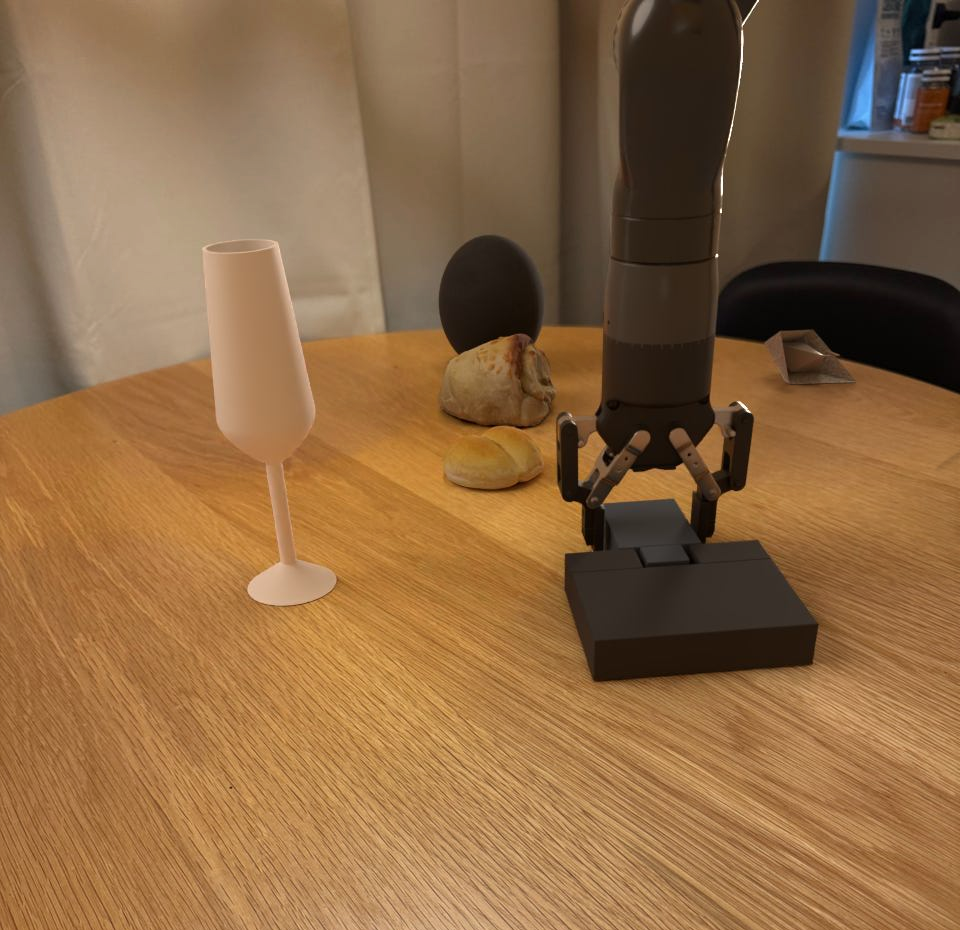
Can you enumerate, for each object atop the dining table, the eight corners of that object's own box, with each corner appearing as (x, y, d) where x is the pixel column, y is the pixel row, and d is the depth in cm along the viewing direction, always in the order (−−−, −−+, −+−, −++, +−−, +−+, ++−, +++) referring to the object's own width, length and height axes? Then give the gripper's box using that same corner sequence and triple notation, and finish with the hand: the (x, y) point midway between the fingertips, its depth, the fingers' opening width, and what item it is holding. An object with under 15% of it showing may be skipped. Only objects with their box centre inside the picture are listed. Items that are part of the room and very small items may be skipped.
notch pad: (753, 576, 74) (758, 539, 72) (812, 664, 63) (819, 623, 62) (564, 590, 73) (564, 553, 71) (593, 681, 63) (594, 640, 61)
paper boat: (830, 354, 116) (889, 351, 108) (808, 406, 117) (865, 407, 108) (754, 306, 111) (811, 299, 103) (732, 361, 111) (786, 359, 103)
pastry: (573, 423, 103) (574, 344, 99) (455, 437, 101) (451, 358, 97) (534, 383, 115) (533, 312, 111) (427, 396, 113) (422, 323, 108)
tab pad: (672, 532, 80) (674, 497, 79) (707, 595, 71) (711, 557, 70) (597, 537, 80) (598, 503, 79) (624, 601, 71) (626, 564, 70)
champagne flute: (355, 582, 75) (315, 243, 63) (280, 615, 71) (222, 261, 59) (302, 555, 80) (255, 232, 67) (229, 585, 76) (165, 248, 63)
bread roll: (428, 472, 93) (425, 430, 91) (510, 451, 97) (509, 411, 95) (473, 501, 87) (471, 457, 85) (558, 477, 91) (558, 435, 89)
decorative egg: (452, 388, 115) (444, 249, 107) (434, 359, 125) (426, 230, 117) (557, 377, 116) (557, 240, 109) (531, 349, 127) (529, 222, 119)
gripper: (562, 346, 64) (561, 574, 73) (782, 332, 65) (755, 560, 74) (546, 317, 71) (546, 530, 79) (746, 305, 71) (725, 518, 80)
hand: (647, 544), depth 76 cm, fingers open, 7 cm apart
